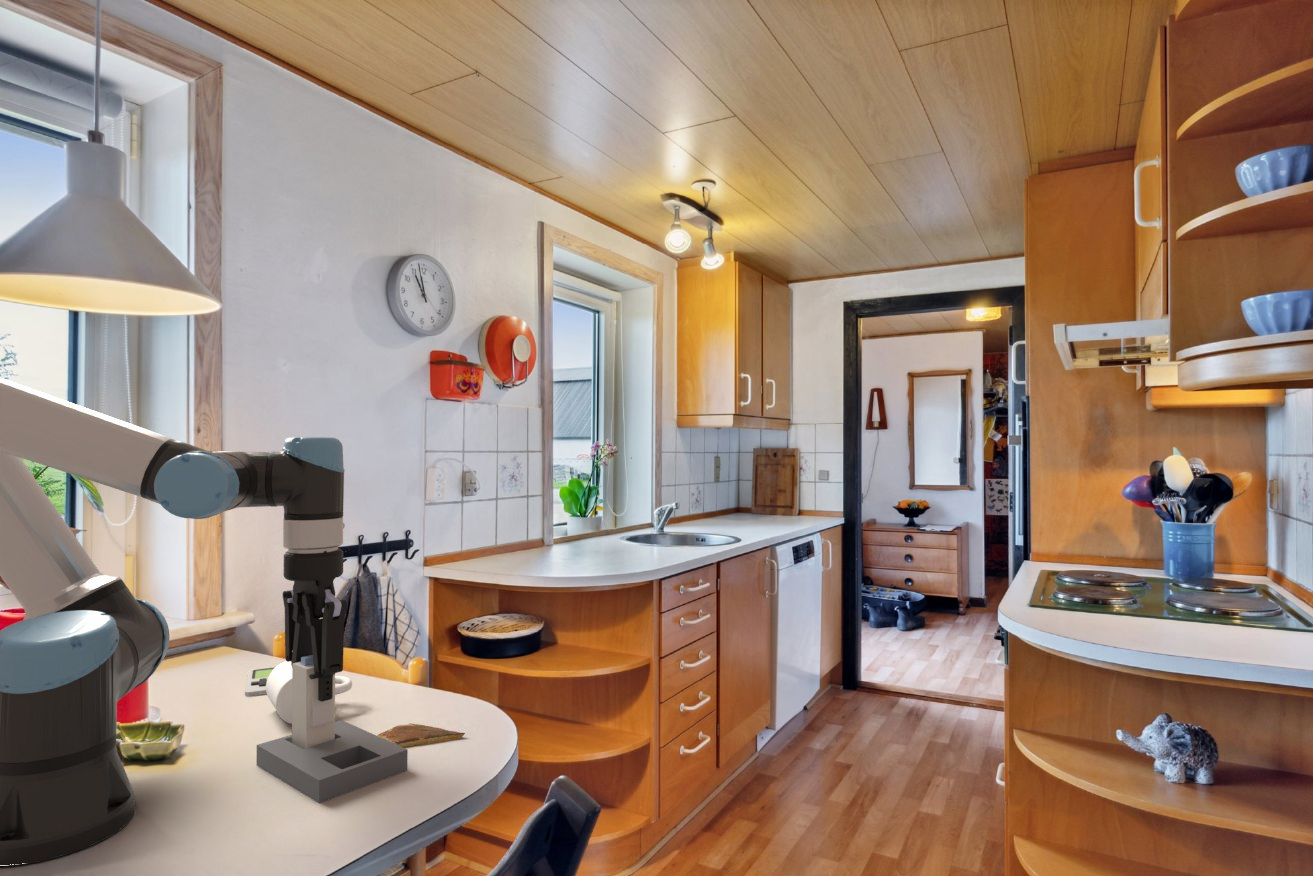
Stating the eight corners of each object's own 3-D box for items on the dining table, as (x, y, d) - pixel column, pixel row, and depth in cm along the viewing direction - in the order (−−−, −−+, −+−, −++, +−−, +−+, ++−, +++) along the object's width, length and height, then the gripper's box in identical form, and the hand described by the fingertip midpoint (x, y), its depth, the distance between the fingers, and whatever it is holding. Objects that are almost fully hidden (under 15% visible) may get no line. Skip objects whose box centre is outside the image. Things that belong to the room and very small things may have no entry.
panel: (319, 805, 92) (319, 780, 92) (256, 767, 103) (256, 745, 103) (407, 772, 101) (407, 749, 101) (341, 740, 112) (341, 720, 112)
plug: (306, 759, 102) (306, 661, 102) (291, 751, 105) (292, 656, 105) (334, 749, 105) (335, 655, 106) (320, 742, 108) (320, 650, 108)
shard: (465, 743, 112) (465, 730, 112) (430, 763, 105) (430, 749, 105) (407, 731, 117) (407, 719, 117) (370, 750, 110) (370, 737, 110)
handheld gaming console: (244, 690, 131) (248, 667, 145) (244, 700, 131) (248, 676, 145) (308, 682, 136) (306, 661, 149) (308, 691, 136) (306, 669, 149)
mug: (276, 730, 116) (276, 677, 116) (265, 711, 124) (265, 662, 124) (358, 714, 123) (358, 664, 123) (343, 697, 131) (343, 651, 131)
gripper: (372, 551, 103) (371, 726, 103) (310, 541, 114) (309, 699, 113) (317, 558, 97) (316, 743, 97) (258, 546, 108) (257, 712, 108)
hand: (313, 719), depth 105 cm, fingers closed on plug, 4 cm apart
